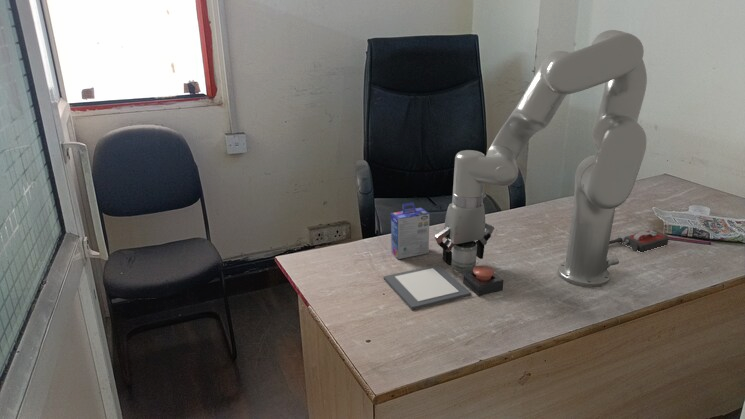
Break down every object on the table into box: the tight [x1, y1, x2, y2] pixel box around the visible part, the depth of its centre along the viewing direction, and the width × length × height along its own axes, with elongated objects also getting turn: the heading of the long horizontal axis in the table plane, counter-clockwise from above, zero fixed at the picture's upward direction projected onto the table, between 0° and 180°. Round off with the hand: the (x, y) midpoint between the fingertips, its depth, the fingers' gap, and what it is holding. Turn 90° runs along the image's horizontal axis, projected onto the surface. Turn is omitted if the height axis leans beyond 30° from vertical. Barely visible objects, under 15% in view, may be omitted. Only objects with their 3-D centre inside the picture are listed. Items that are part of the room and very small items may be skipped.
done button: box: [473, 265, 496, 282], centre depth 132 cm, size 5×5×3 cm
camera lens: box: [451, 241, 477, 274], centre depth 141 cm, size 6×6×8 cm
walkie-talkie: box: [609, 229, 669, 253], centre depth 154 cm, size 9×4×20 cm
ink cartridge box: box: [390, 202, 431, 260], centre depth 149 cm, size 10×6×14 cm, turn 113°
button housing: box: [462, 271, 505, 297], centre depth 133 cm, size 7×7×3 cm
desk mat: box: [383, 264, 472, 311], centre depth 133 cm, size 16×16×1 cm
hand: (463, 260), depth 142 cm, fingers open, 9 cm apart
